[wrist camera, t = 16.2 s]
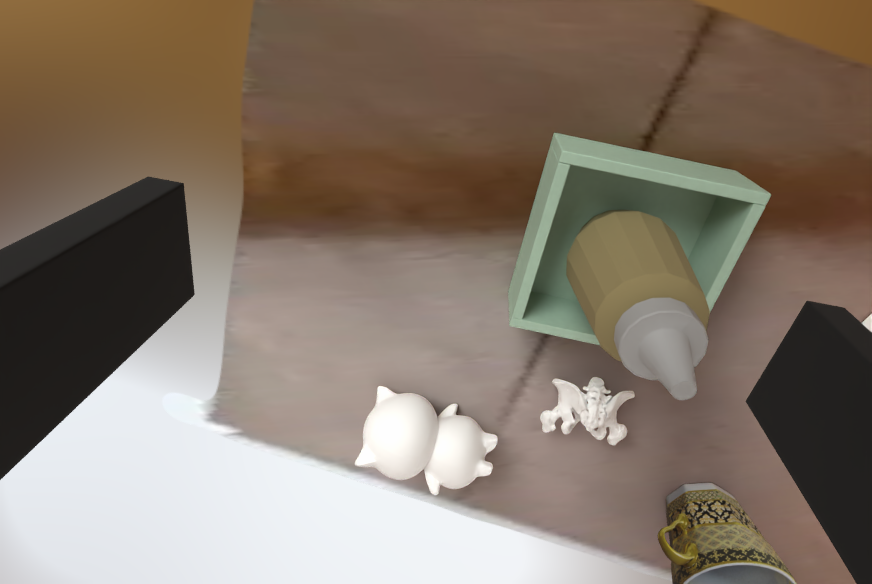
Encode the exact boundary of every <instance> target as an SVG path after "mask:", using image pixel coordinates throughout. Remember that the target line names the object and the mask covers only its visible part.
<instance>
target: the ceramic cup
mask: <svg viewBox="0 0 872 584" xmlns="http://www.w3.org/2000/svg"><path fill="white" fill-rule="evenodd" d="M666 515H667V525H668V526H667V527H664V528H662V529H661V530H660V531H659V533H658V540H659V543H660V545H661V548H662V550H663V551H664V553H665V555H666V556H667V557H668V558H669V559H670V560H671V571H672V581H673V584H797V583H796V581H795V580H794V578H793V577H792V575H791V573H790V572H789V570H788V569H787V567H786V566H785V565H784V563H783V562H782V560H781V559H780V558H779V556H778V555H777V554H776V552H775V551H774V550H773V548H772V547H771V546H770V545H769V544H768V542H767V541H766V540H765V539H764V538H763V536H762V535H761V533H760V532H759V530H758V529H757V528H756V526H755V525H754V524H753V522H752V521H751V520H750V518H749V517H748V516H747V514H746V513H745V512H744V510H743V509H742V507H741V506H740V505H739V503H738V502H737V501H736V499H735V498H734V497H733V496H732V495H731V494H730V493H728V492H726V491H725V490H723V489H721V488H720V487H718V486H716V485H715V484H713V483H695V484H684V485H682V486H681V487H679V488H678V489H676V490H675V491H674V492H672V493H671V494H670V495H668V496H667V499H666ZM668 531H669V539H670V545H669V544H668V543H667V541H666V539H665V536H664V533H666V532H668Z"/></svg>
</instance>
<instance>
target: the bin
mask: <svg viewBox="0 0 872 584" xmlns="http://www.w3.org/2000/svg"><path fill="white" fill-rule="evenodd" d="M770 197H771V194H770V193H769V192H767V191H766V190H764V189H763V188H761V187H760V186H758V185H757V184H755V183H754V182H752V181H751V180H749V179H748V178H746V177H745V176H743V175H742V174H740V173H739V172H737V171H735V170H730V169H726V168H721V167H716V166H711V165H707V164H702V163H697V162H692V161H687V160H683V159H678V158H673V157H668V156H664V155H659V154H654V153H649V152H645V151H640V150H635V149H630V148H625V147H621V146H616V145H611V144H606V143H602V142H597V141H592V140H587V139H583V138H578V137H573V136H568V135H563V134H559V133H554V134H553V138H552V141H551V145H550V148H549V152H548V155H547V159H546V162H545V166H544V169H543V173H542V176H541V180H540V183H539V187H538V190H537V193H536V197H535V200H534V204H533V207H532V211H531V214H530V218H529V221H528V225H527V228H526V232H525V235H524V239H523V242H522V246H521V249H520V253H519V256H518V259H517V263H516V266H515V270H514V273H513V277H512V280H511V284H510V287H509V291H508V297H509V326H512V327H517V328H521V329H526V330H531V331H535V332H540V333H545V334H549V335H554V336H559V337H563V338H568V339H573V340H578V341H582V342H587V343H592V344H596V345H600V344H599V342H598V340H597V338H596V336H595V334H594V332H593V330H592V328H591V326H590V324H589V322H588V320H587V318H586V316H585V314H584V312H583V310H582V308H581V306H580V304H579V302H578V299H577V297H576V295H575V293H574V291H573V289H572V287H571V285H570V282H569V280H568V278H567V276H566V266H567V254H568V252H569V250H570V248H571V246H572V244H573V242H574V240H575V238H576V236H577V235H578V233H579V231H580V230H581V228H582V227H583V226H584V225H585V224H586V223H587V222H588V221H589V220H590V219H591V218H592V217H594V216H596V215H598V214H601V213H603V212H605V211H608V210H633V211H640V212H643V213H646V214H649V215H652V216H655V217H658V218H660V219H661V220H662V221H663V222H665V223H666V224H667V225H668V226H669V227H670V228H671V229H672V230H673V231H674V232H675V233H676V235H677V238H678V240H679V242H680V244H681V246H682V248H683V250H684V252H685V254H686V257H687V259H688V261H689V263H690V265H691V267H692V269H693V271H694V274H695V276H696V278H697V280H698V282H699V284H700V286H701V288H702V290H703V293H704V295H705V298H706V301H707V304H708V307H709V310H710V312H711V310H712V308H713V306H714V304H715V302H716V300H717V298H718V296H719V294H720V293H721V291H722V289H723V287H724V285H725V283H726V281H727V279H728V277H729V275H730V273H731V272H732V270H733V268H734V266H735V264H736V262H737V260H738V258H739V256H740V254H741V252H742V250H743V249H744V247H745V245H746V243H747V241H748V239H749V237H750V235H751V233H752V231H753V229H754V228H755V226H756V224H757V222H758V220H759V218H760V216H761V214H762V212H763V210H764V208H765V206H764V205H766V204H767V202H768V200H769V198H770Z"/></svg>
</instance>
